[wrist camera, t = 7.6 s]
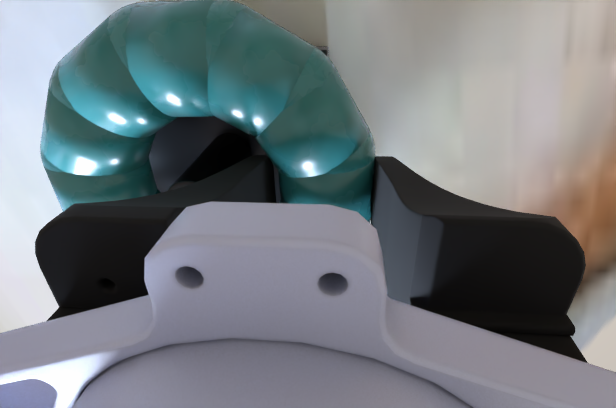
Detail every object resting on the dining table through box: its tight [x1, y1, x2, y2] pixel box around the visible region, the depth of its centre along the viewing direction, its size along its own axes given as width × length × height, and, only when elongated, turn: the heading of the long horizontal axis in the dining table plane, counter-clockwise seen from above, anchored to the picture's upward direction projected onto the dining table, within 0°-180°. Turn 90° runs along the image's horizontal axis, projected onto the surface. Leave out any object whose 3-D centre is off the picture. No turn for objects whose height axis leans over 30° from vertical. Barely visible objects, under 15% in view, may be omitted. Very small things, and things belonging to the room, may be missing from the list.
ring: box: [40, 0, 375, 223], centre depth 13 cm, size 11×11×3 cm
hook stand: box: [149, 47, 328, 203], centre depth 14 cm, size 8×8×6 cm
